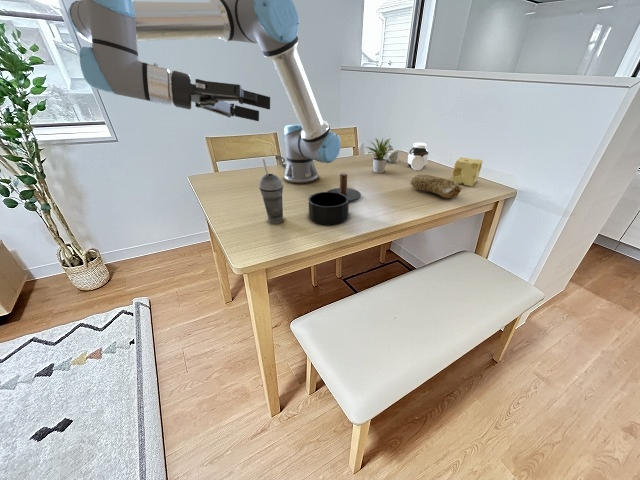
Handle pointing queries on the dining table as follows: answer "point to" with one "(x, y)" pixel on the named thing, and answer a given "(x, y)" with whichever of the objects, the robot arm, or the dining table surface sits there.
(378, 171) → the house plant
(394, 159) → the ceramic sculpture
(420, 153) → the spread jar
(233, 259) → the dining table surface
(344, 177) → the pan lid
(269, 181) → the beverage cup
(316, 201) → the black round bowl
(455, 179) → the cheese
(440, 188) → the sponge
